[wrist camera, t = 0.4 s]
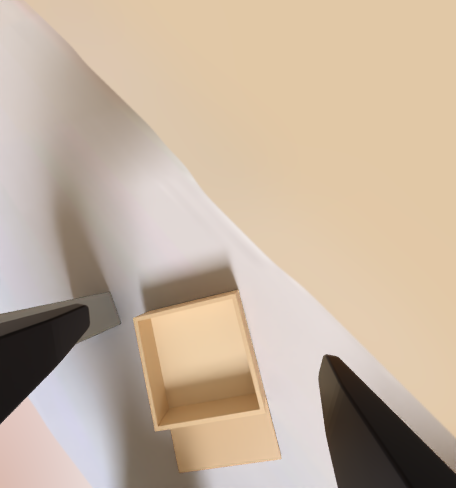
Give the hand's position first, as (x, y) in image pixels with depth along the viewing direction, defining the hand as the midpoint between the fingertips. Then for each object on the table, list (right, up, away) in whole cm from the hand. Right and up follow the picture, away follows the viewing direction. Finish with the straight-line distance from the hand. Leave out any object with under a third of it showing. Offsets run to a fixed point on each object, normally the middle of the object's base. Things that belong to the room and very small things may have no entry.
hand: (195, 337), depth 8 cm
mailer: (-1, -11, +15) cm, 19 cm away
